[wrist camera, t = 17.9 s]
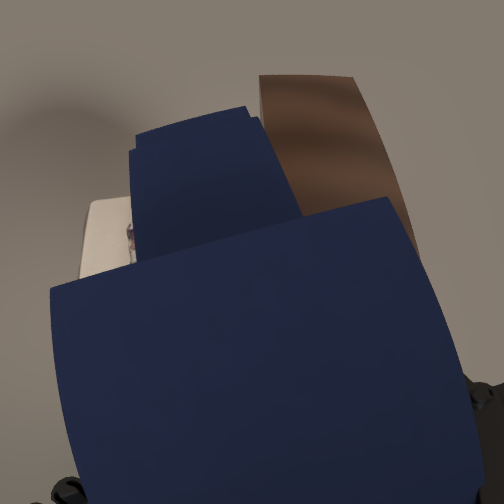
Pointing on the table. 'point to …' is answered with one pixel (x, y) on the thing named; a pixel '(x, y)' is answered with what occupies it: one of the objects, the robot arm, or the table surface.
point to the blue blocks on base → (259, 343)
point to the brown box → (327, 143)
